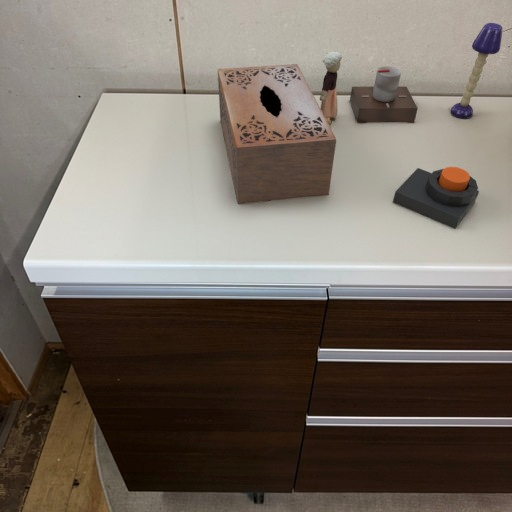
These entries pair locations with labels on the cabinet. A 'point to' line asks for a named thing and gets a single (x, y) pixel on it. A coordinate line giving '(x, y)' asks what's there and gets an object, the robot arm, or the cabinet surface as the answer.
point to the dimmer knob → (386, 84)
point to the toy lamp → (478, 65)
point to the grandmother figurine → (330, 86)
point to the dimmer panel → (382, 106)
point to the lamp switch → (454, 179)
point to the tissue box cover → (274, 134)
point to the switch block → (435, 197)
